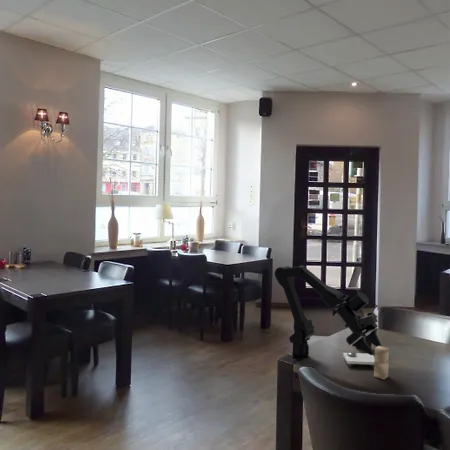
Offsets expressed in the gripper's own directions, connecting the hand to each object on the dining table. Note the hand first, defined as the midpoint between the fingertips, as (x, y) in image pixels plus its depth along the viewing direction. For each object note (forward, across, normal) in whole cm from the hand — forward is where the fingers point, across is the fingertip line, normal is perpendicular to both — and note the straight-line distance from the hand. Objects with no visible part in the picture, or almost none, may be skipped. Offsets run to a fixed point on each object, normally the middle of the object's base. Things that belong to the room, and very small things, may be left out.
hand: (377, 351), depth 173 cm
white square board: (0, +8, +13) cm, 16 cm away
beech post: (+8, 0, +5) cm, 9 cm away
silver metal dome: (-5, +8, +14) cm, 17 cm away
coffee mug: (-5, +28, +18) cm, 34 cm away
